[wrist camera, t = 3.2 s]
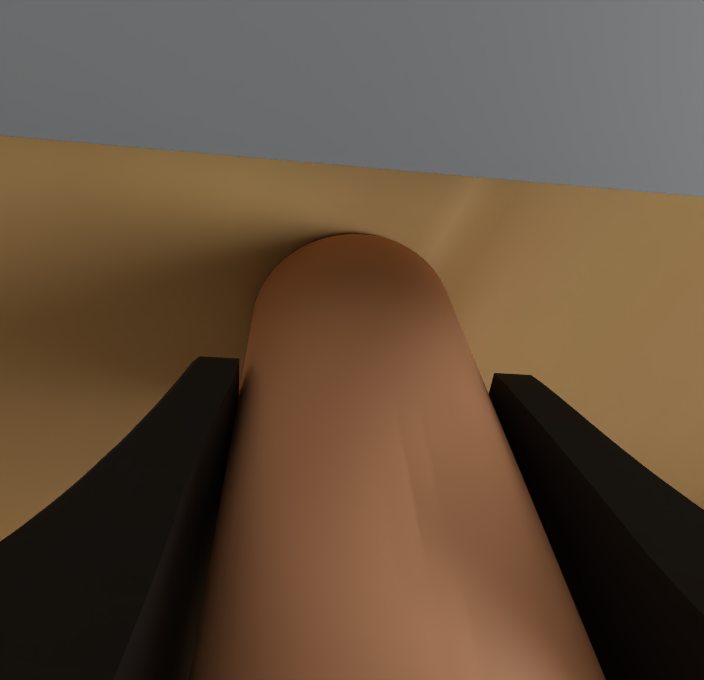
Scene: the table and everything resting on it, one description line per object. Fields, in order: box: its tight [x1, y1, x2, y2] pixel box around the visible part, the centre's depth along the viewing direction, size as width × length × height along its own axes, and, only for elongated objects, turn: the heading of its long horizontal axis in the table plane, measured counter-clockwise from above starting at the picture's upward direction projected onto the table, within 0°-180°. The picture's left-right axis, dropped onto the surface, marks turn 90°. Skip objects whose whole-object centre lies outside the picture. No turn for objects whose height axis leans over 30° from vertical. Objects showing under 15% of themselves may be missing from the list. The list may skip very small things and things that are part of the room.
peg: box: [189, 234, 606, 680], centre depth 9 cm, size 4×4×9 cm
